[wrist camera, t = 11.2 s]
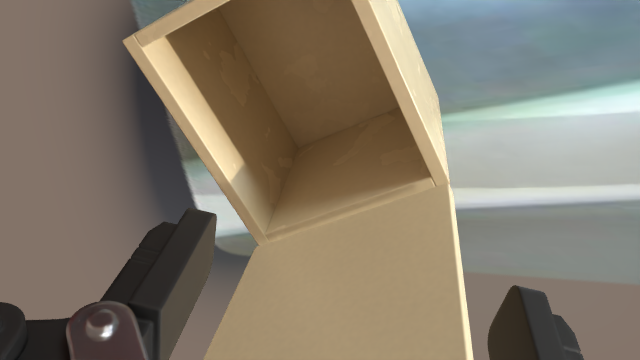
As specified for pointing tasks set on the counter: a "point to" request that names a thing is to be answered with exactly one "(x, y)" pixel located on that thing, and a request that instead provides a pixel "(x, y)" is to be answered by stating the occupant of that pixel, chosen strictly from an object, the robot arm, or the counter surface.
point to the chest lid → (355, 290)
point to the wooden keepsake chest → (298, 105)
